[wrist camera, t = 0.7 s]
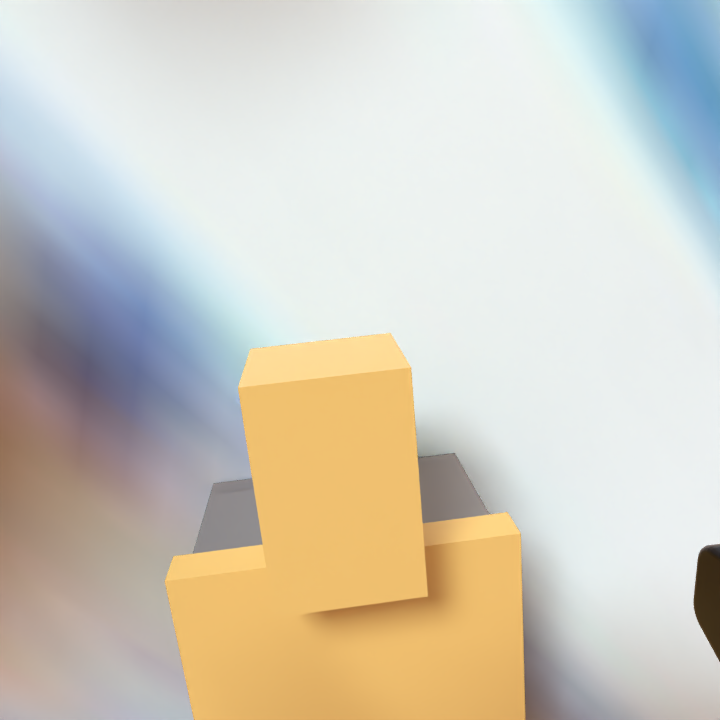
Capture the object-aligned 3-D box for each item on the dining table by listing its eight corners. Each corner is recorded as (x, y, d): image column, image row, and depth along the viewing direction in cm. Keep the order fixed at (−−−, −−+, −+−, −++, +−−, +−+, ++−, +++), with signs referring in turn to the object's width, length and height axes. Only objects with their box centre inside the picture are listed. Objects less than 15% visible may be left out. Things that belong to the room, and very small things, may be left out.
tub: (467, 694, 23) (510, 825, 19) (256, 726, 23) (244, 868, 18) (454, 453, 21) (500, 533, 16) (213, 483, 20) (185, 575, 15)
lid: (517, 829, 19) (553, 936, 16) (238, 874, 18) (227, 993, 16) (501, 320, 14) (547, 351, 12) (133, 361, 14) (93, 403, 11)
